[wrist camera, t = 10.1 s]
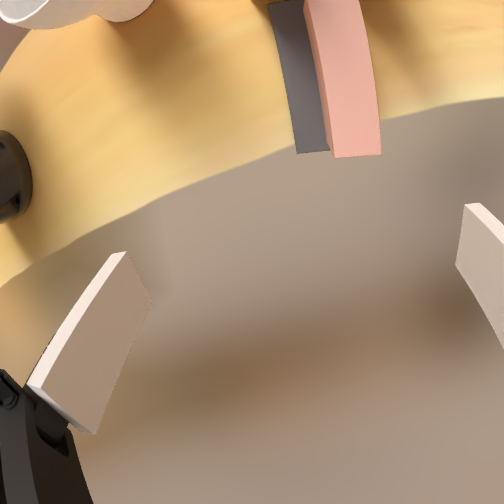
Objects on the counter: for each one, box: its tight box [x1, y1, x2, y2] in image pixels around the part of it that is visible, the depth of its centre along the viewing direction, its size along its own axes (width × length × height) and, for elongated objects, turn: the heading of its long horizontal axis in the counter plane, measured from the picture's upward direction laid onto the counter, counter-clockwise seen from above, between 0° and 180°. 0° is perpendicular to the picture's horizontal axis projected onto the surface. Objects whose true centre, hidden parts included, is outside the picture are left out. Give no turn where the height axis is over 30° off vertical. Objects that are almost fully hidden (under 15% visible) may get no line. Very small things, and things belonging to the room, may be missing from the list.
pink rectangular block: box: [303, 0, 381, 158], centre depth 21 cm, size 4×14×6 cm, turn 11°
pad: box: [267, 0, 330, 154], centre depth 24 cm, size 8×16×1 cm, turn 11°
